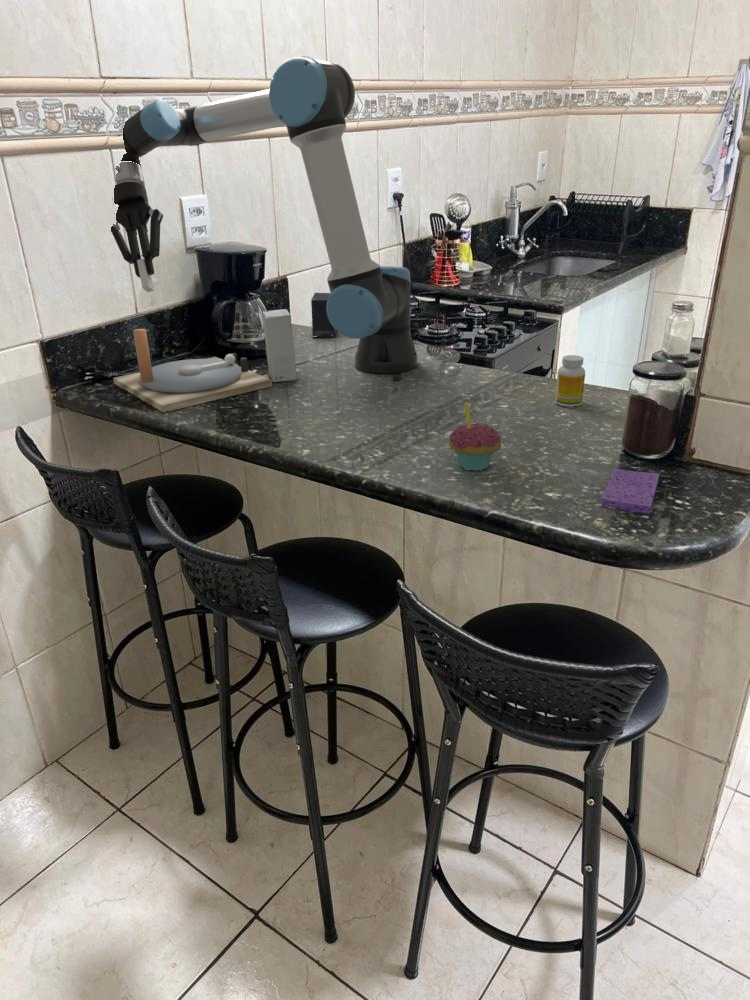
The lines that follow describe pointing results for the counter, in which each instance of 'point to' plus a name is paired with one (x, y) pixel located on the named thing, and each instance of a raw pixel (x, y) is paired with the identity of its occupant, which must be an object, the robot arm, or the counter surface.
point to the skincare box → (279, 345)
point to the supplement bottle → (570, 381)
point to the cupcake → (474, 443)
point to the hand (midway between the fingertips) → (148, 289)
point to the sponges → (630, 491)
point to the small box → (321, 316)
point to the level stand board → (181, 400)
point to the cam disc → (183, 371)
